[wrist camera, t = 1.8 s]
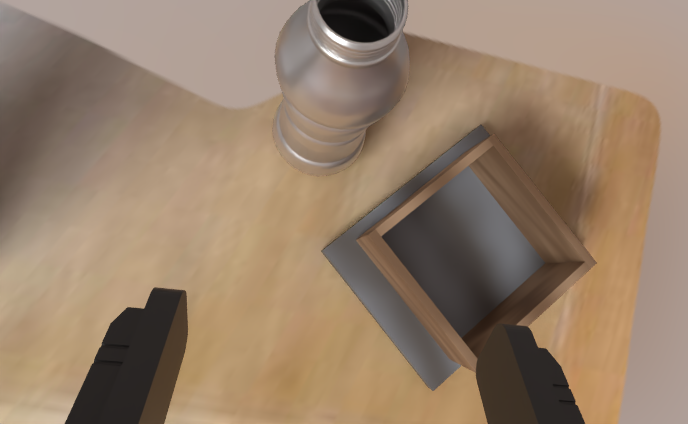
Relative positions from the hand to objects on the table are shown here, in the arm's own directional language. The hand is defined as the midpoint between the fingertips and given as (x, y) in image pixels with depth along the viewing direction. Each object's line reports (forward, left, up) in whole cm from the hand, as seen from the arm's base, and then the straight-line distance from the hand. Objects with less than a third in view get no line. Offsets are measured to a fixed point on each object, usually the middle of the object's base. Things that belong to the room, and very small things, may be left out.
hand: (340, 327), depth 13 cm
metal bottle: (+8, +8, -24) cm, 27 cm away
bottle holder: (+11, -5, -24) cm, 27 cm away
